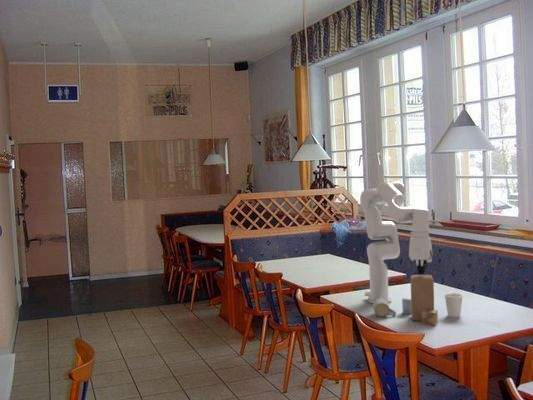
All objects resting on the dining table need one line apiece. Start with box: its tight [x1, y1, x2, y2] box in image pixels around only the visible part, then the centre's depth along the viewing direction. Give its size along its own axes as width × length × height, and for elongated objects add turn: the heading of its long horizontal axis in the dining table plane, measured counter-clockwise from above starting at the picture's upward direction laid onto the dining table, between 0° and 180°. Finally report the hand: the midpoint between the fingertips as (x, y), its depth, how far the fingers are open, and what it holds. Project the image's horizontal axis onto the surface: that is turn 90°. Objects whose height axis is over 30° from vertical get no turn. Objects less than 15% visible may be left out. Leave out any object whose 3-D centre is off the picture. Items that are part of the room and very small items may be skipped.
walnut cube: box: [421, 309, 439, 327], centre depth 272 cm, size 6×6×6 cm
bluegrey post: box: [401, 297, 412, 316], centre depth 292 cm, size 5×5×7 cm
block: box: [410, 274, 435, 322], centre depth 281 cm, size 10×10×20 cm
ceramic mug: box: [372, 298, 397, 318], centre depth 290 cm, size 11×8×8 cm
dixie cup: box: [444, 292, 463, 318], centre depth 284 cm, size 8×8×10 cm
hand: (421, 273), depth 281 cm, fingers closed
